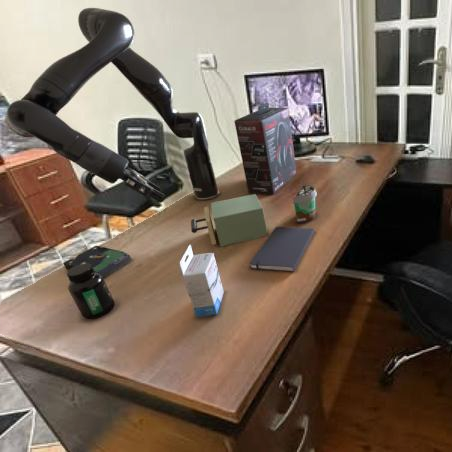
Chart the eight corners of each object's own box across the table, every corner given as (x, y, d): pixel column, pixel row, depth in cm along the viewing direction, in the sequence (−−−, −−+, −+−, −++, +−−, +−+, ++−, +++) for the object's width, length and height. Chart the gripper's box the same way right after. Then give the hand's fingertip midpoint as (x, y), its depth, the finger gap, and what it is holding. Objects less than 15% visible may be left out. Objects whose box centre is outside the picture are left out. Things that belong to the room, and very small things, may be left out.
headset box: (274, 195, 140) (260, 109, 124) (246, 193, 144) (230, 110, 128) (297, 174, 160) (288, 98, 145) (273, 172, 164) (261, 98, 149)
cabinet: (220, 246, 107) (213, 218, 102) (217, 228, 117) (210, 202, 113) (267, 235, 111) (262, 208, 107) (260, 219, 122) (255, 193, 117)
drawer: (195, 248, 105) (189, 225, 101) (194, 232, 114) (188, 210, 111) (256, 234, 110) (252, 212, 107) (250, 219, 120) (246, 199, 116)
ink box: (217, 315, 79) (201, 261, 72) (195, 318, 79) (177, 264, 72) (224, 292, 87) (211, 241, 80) (204, 294, 87) (189, 243, 80)
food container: (314, 225, 115) (311, 197, 110) (296, 225, 116) (292, 197, 111) (322, 209, 125) (320, 183, 121) (305, 209, 127) (303, 183, 122)
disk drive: (65, 271, 100) (100, 280, 95) (61, 263, 99) (96, 271, 94) (99, 252, 109) (132, 259, 103) (95, 244, 107) (129, 251, 102)
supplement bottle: (107, 318, 81) (86, 276, 75) (76, 322, 81) (53, 280, 75) (120, 299, 87) (102, 259, 81) (92, 302, 87) (72, 262, 81)
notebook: (293, 271, 92) (314, 232, 111) (293, 267, 92) (313, 228, 110) (249, 268, 95) (276, 230, 113) (248, 263, 94) (276, 226, 113)
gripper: (112, 154, 84) (173, 190, 94) (110, 146, 95) (165, 179, 105) (93, 180, 84) (157, 213, 94) (93, 168, 95) (150, 199, 105)
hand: (161, 195), depth 99 cm, fingers open, 8 cm apart
